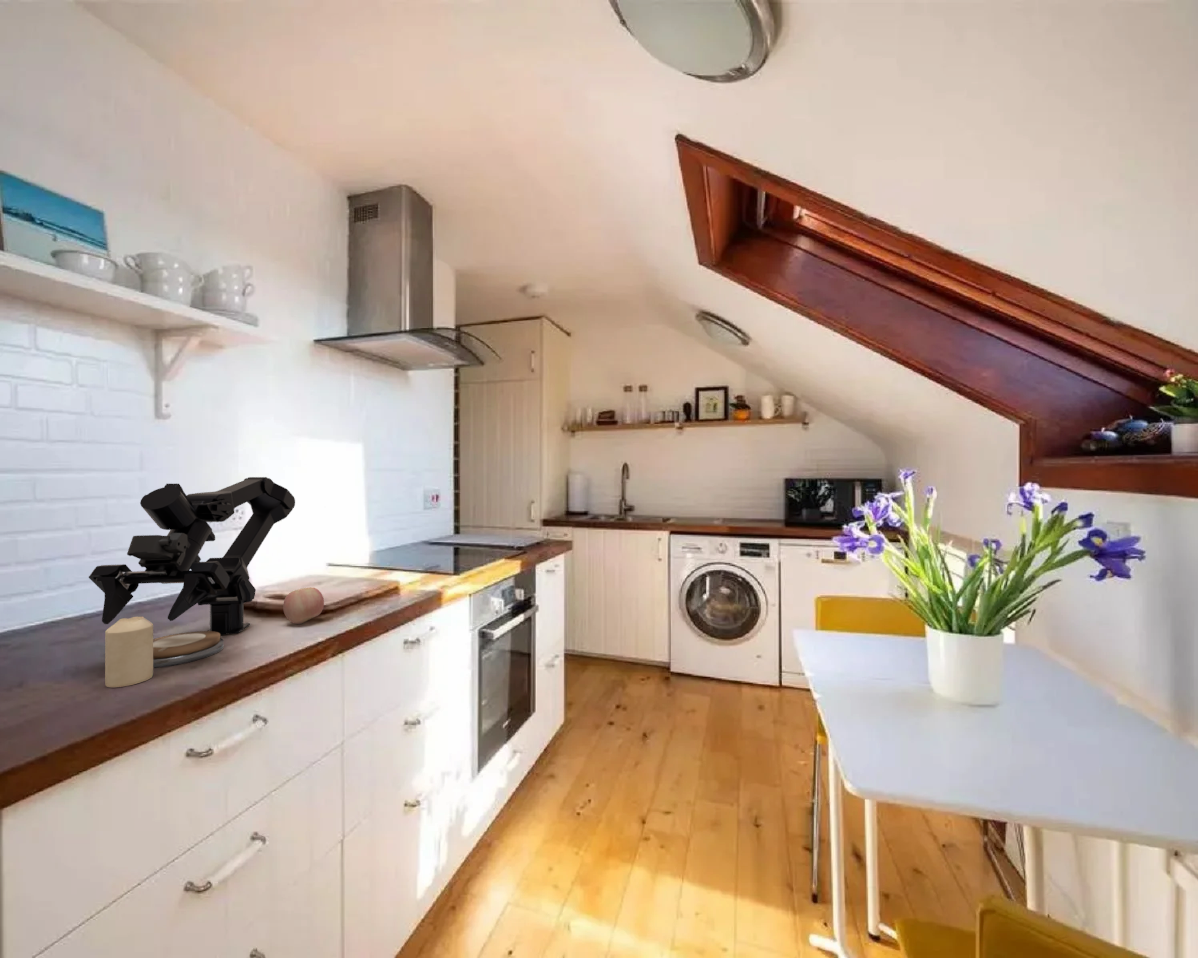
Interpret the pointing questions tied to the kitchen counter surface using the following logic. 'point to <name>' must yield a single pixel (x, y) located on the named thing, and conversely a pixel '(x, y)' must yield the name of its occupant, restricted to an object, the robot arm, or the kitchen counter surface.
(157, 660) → the turntable base
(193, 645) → the turntable
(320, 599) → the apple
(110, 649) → the candle
